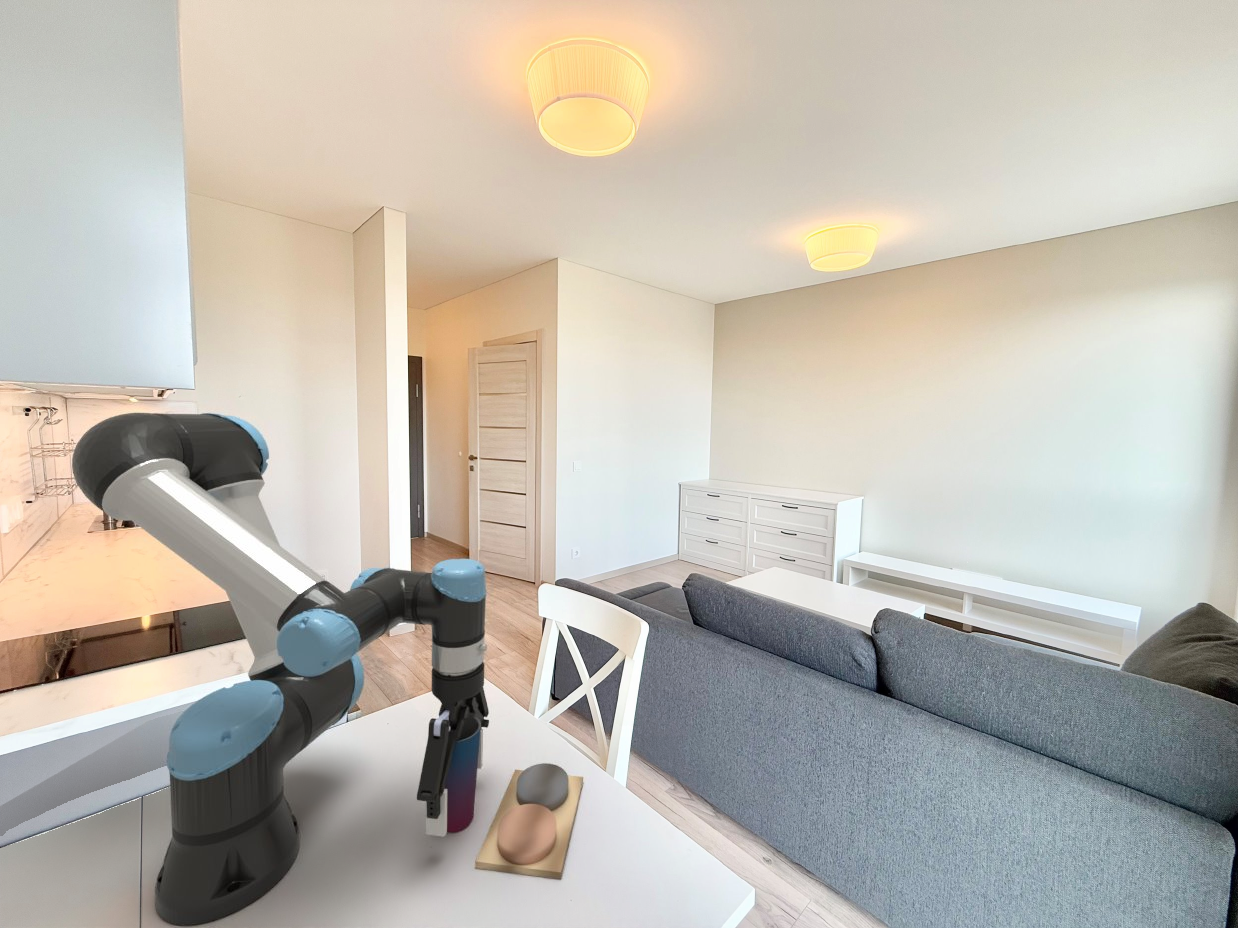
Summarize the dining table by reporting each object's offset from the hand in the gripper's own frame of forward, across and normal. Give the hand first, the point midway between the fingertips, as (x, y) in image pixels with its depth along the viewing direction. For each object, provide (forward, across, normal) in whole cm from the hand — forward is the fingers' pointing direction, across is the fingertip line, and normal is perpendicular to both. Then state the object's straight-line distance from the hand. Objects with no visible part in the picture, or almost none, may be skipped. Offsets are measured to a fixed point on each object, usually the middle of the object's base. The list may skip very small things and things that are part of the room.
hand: (456, 797), depth 75 cm
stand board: (+4, +2, -12) cm, 13 cm away
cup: (+4, 0, 0) cm, 4 cm away
